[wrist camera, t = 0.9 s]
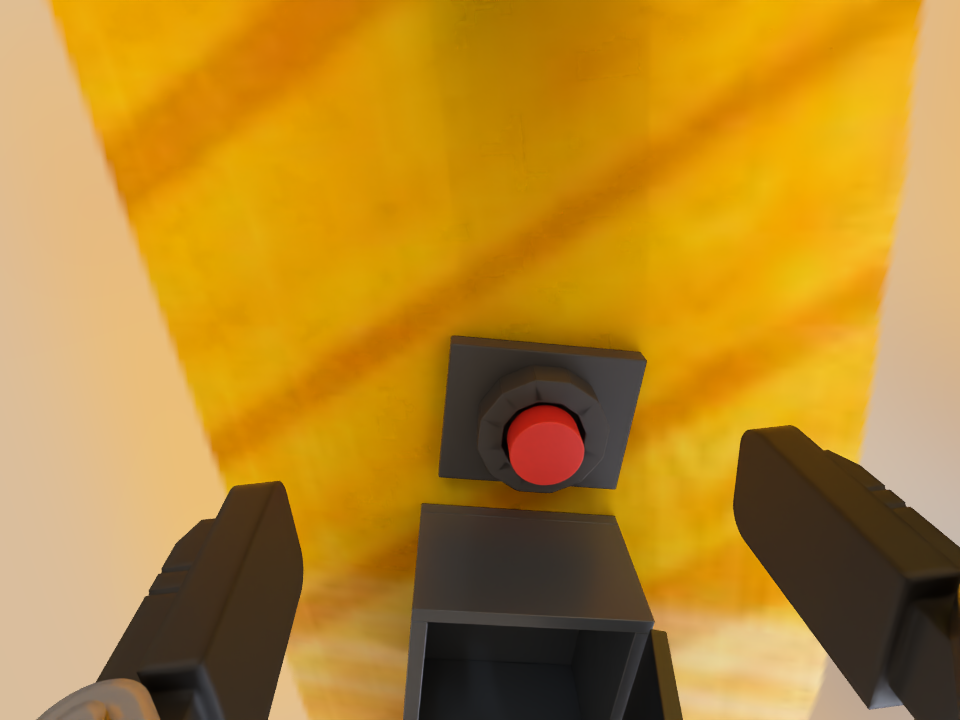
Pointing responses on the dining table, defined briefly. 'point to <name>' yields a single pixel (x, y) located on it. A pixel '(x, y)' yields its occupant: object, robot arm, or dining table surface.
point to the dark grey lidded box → (522, 617)
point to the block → (532, 382)
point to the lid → (654, 683)
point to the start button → (545, 445)
